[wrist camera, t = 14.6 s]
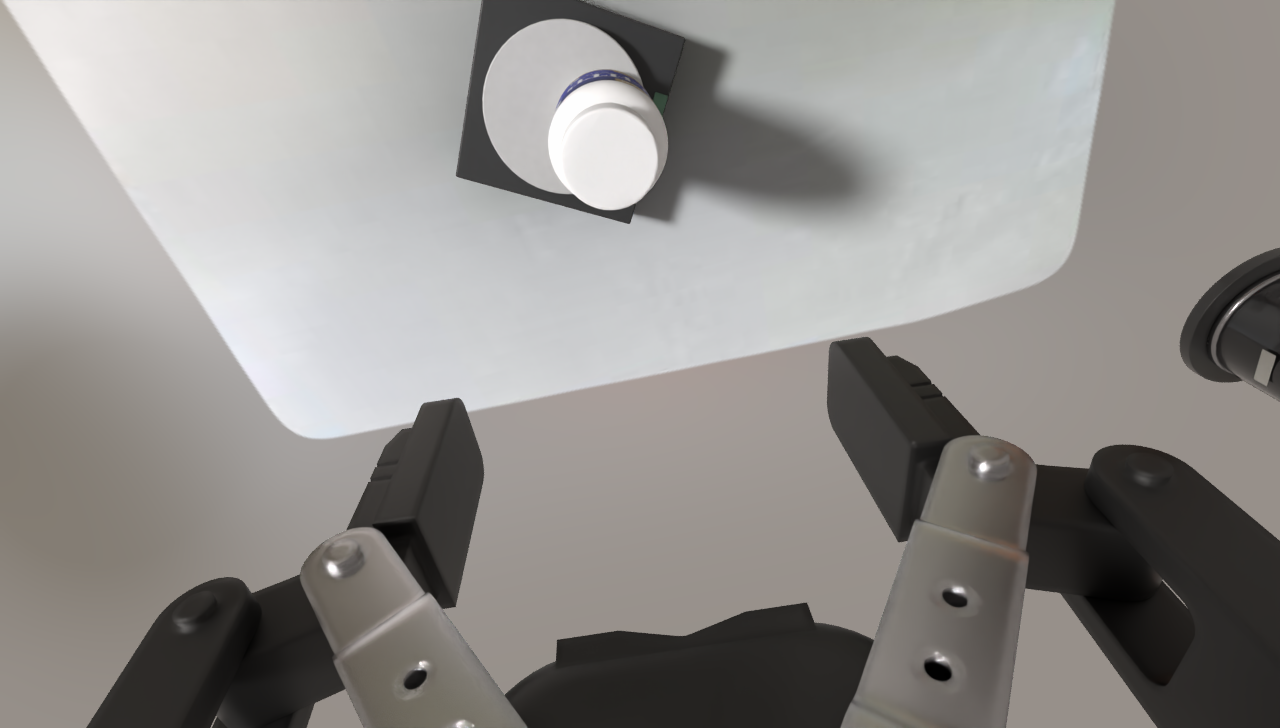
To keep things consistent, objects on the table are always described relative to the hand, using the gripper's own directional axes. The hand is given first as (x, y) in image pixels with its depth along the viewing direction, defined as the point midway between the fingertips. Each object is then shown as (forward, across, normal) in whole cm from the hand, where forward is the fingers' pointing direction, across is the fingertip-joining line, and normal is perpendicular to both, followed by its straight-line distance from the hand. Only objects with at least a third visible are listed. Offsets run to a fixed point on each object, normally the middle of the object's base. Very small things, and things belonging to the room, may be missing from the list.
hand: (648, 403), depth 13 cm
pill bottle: (+23, 0, -2) cm, 23 cm away
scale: (+26, +2, -3) cm, 26 cm away
